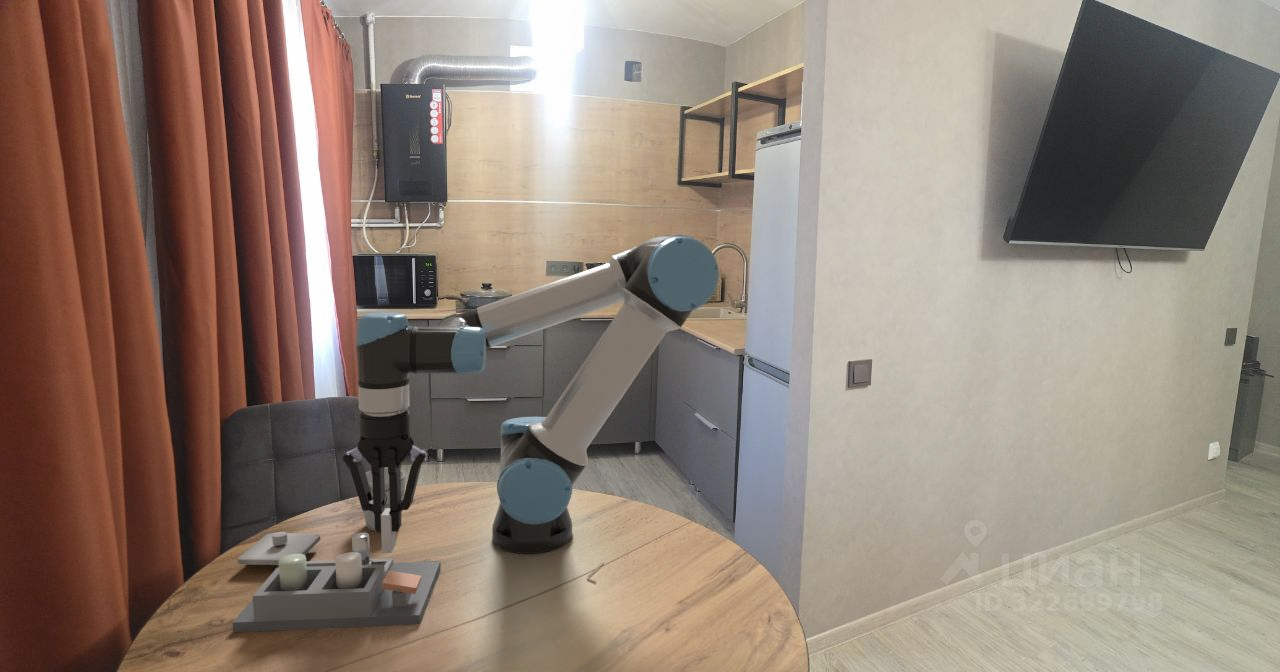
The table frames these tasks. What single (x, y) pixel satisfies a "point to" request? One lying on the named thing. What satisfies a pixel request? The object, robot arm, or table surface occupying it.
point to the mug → (370, 515)
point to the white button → (349, 570)
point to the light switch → (278, 548)
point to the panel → (339, 599)
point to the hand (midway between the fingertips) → (388, 548)
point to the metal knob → (362, 547)
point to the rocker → (401, 582)
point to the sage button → (292, 572)
